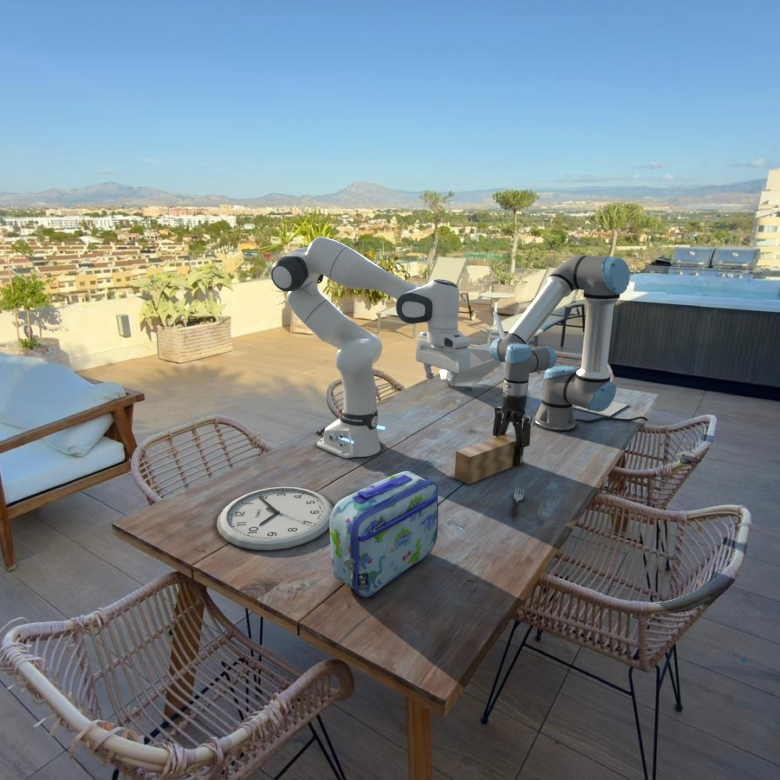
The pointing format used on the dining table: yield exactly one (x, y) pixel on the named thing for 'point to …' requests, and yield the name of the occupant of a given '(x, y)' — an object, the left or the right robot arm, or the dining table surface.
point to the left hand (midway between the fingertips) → (440, 381)
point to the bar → (485, 458)
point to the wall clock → (275, 518)
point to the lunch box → (383, 531)
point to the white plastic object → (478, 362)
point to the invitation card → (609, 411)
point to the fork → (517, 498)
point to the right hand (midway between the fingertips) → (508, 461)
